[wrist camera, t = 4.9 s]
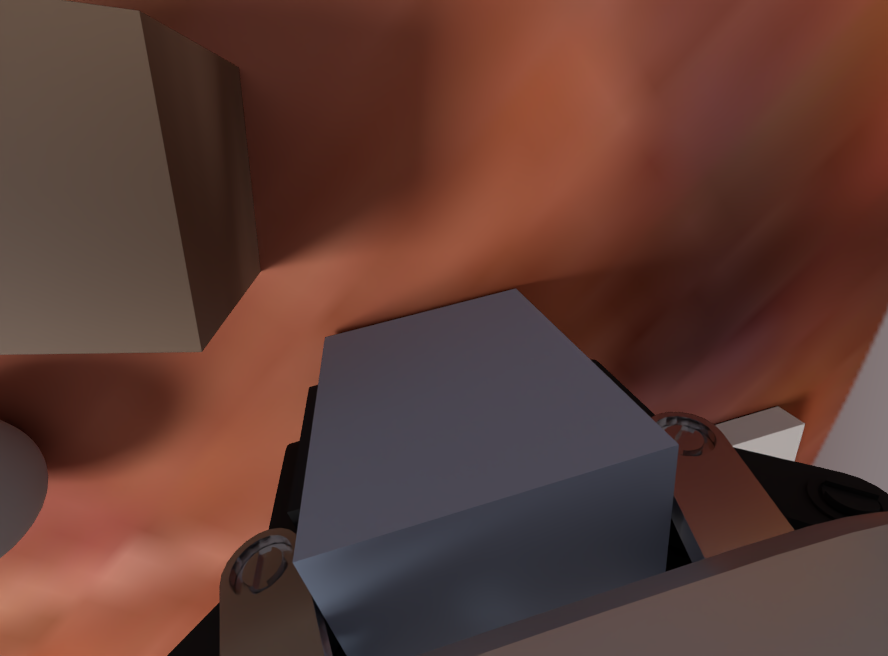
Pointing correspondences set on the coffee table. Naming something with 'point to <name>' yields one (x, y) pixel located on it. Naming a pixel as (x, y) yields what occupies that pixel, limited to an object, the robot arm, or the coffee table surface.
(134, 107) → the walnut block
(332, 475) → the blue block
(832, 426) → the coffee table surface
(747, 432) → the coaster
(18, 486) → the grey ball
